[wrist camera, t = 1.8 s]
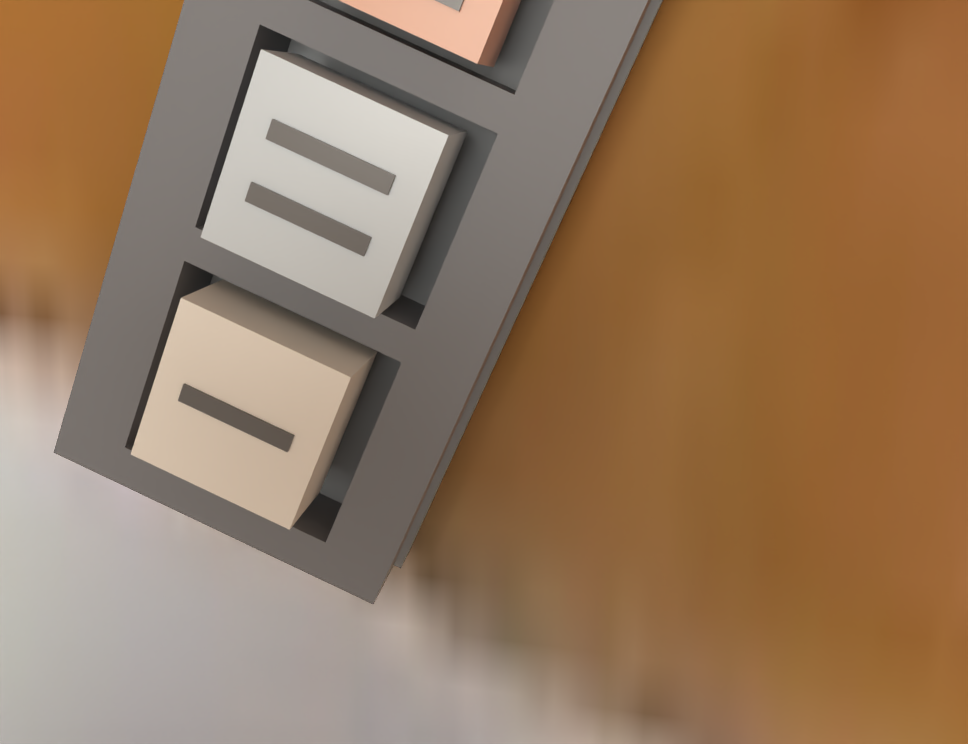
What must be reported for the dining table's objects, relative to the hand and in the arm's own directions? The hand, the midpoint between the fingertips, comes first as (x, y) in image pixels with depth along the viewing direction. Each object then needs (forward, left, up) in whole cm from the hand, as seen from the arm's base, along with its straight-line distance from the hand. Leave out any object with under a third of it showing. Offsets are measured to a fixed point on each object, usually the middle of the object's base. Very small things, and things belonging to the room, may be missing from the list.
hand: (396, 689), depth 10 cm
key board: (-6, +2, -18) cm, 19 cm away
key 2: (-6, +2, -15) cm, 17 cm away
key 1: (-6, -5, -15) cm, 17 cm away
